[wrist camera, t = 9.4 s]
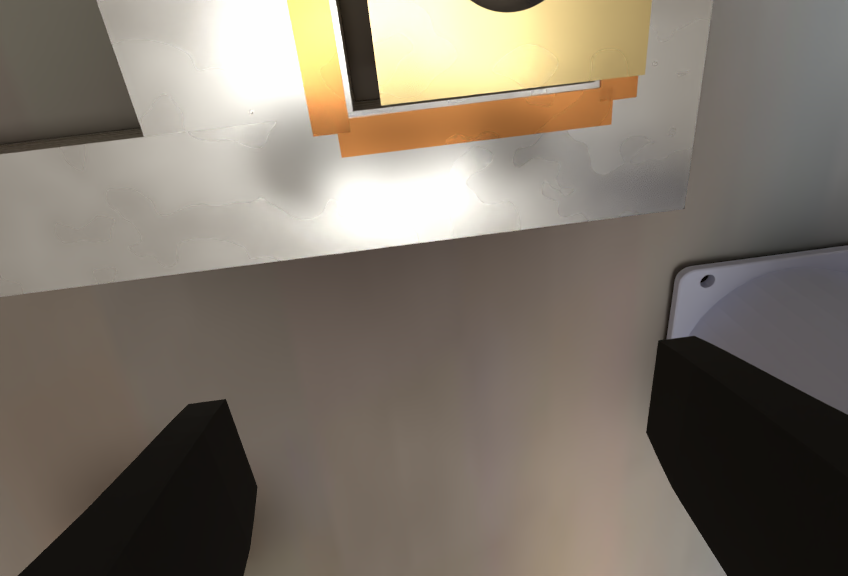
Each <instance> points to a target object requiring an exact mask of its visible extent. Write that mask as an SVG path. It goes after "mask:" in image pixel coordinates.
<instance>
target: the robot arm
mask: <svg viewBox="0 0 848 576" xmlns="http://www.w3.org/2000/svg"><path fill="white" fill-rule="evenodd" d="M706 275H709V276H708V278H707V279H706V280H705V281H704V282H701V283H700V281H701V279H702V278H703V277H704V276H706ZM646 433H647V435H648V437H649V439H650V442H651V444H652V446H653V448H654V450H655V453H656V455H657V457H658V459H659V462H660V464H661V466H662V468H663V470H664V472H665V474H666V476H667V478H668V480H669V482H670V484H671V486H672V488H673V490H674V491H675V493H676V495H677V496H678V498H679V500H680V501H681V503H682V505H683V506H684V508H685V509H686V511H687V513H688V514H689V516H690V517H691V519H692V521H693V522H694V524H695V525H696V527H697V529H698V530H699V532H700V533H701V535H702V537H703V538H704V540H705V541H706V543H707V544H708V546H709V548H710V549H711V551H712V552H713V554H714V555H715V557H716V559H717V560H718V562H719V563H720V565H721V566H722V568H723V570H724V571H725V573H726V574H727V576H848V245H847V246H839V247H832V248H824V249H816V250H809V251H801V252H794V253H786V254H779V255H771V256H763V257H756V258H748V259H741V260H733V261H725V262H718V263H710V264H703V265H695V266H689V267H686V268H684V269H682V270H681V271H680V272H679V273H678V274H677V276H676V278H675V282H674V289H673V296H672V303H671V311H670V318H669V325H668V332H667V339H666V340H659V341H658V348H657V355H656V363H655V370H654V378H653V386H652V393H651V401H650V408H649V416H648V423H647V431H646ZM256 495H257V485H256V482H255V479H254V476H253V473H252V471H251V468H250V465H249V462H248V459H247V457H246V454H245V451H244V448H243V446H242V443H241V440H240V437H239V434H238V432H237V429H236V426H235V423H234V421H233V418H232V415H231V412H230V409H229V407H228V404H227V401H226V399H223V400H216V401H209V402H201V403H194V404H188V405H187V406H186V407H185V408H184V409H183V410H182V411H181V412H180V413H179V414H178V415H177V416H176V417H175V418H174V419H173V420H172V421H171V422H170V423H169V424H168V425H167V426H166V427H165V428H164V429H163V430H162V431H161V432H160V434H159V435H158V436H157V437H156V438H155V439H154V440H153V441H152V442H151V443H150V444H149V445H148V446H147V447H146V448H145V449H144V450H143V451H142V453H141V454H140V455H139V456H138V457H137V458H136V459H135V460H134V461H133V462H132V463H131V464H130V465H129V466H128V467H127V468H126V469H125V470H124V471H123V472H122V473H121V474H120V475H119V477H118V478H117V479H116V480H115V481H114V482H113V483H112V484H111V485H110V486H109V487H108V488H107V489H106V490H105V491H104V492H103V493H102V494H101V495H100V496H99V497H98V498H97V499H96V500H95V501H94V502H93V503H92V504H91V505H90V506H89V508H88V509H87V510H86V511H85V512H84V513H83V514H82V515H80V516H79V517H78V518H77V519H76V520H75V521H74V522H73V523H72V524H71V525H70V526H69V527H68V528H67V529H66V530H65V531H64V532H63V533H62V534H61V535H60V536H59V537H58V538H57V539H56V540H55V541H53V542H52V543H51V544H50V545H49V546H48V547H47V548H46V549H45V550H44V551H43V552H42V553H41V554H40V555H39V556H38V557H37V558H36V559H35V560H34V561H33V562H32V563H31V564H30V565H29V566H28V567H26V568H25V569H24V570H23V571H22V572H21V573H20V574H19V575H18V576H243V575H244V571H245V567H246V563H247V559H248V554H249V550H250V544H251V537H252V529H253V522H254V513H255V504H256Z"/></svg>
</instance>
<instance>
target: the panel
mask: <svg viewBox="0 0 848 576" xmlns="http://www.w3.org/2000/svg"><path fill="white" fill-rule="evenodd" d="M97 3H98V6H99V9H100V12H101V15H102V18H103V21H104V23H105V26H106V29H107V32H108V35H109V38H110V41H111V43H112V46H113V49H114V52H115V55H116V58H117V61H118V64H119V66H120V69H121V72H122V75H123V78H124V81H125V84H126V87H127V89H128V92H129V95H130V98H131V101H132V104H133V107H134V109H135V112H136V115H137V118H138V121H139V124H140V127H141V128H135V129H127V130H119V131H111V132H102V133H94V134H86V135H77V136H69V137H61V138H53V139H44V140H36V141H28V142H19V143H11V144H3V145H0V297H3V296H11V295H19V294H27V293H34V292H42V291H50V290H58V289H65V288H73V287H81V286H89V285H97V284H104V283H112V282H120V281H128V280H135V279H143V278H151V277H159V276H167V275H174V274H182V273H190V272H198V271H205V270H213V269H221V268H229V267H237V266H244V265H252V264H260V263H268V262H275V261H283V260H291V259H299V258H307V257H314V256H322V255H330V254H338V253H345V252H353V251H361V250H369V249H377V248H384V247H392V246H400V245H408V244H415V243H423V242H431V241H439V240H447V239H454V238H462V237H470V236H478V235H485V234H493V233H501V232H509V231H517V230H524V229H532V228H540V227H548V226H555V225H563V224H571V223H579V222H587V221H594V220H602V219H610V218H618V217H625V216H633V215H641V214H649V213H657V212H664V211H672V210H680V209H684V207H685V200H686V193H687V185H688V178H689V171H690V164H691V157H692V150H693V143H694V136H695V128H696V121H697V114H698V107H699V100H700V93H701V86H702V78H703V71H704V64H705V57H706V50H707V43H708V36H709V28H710V21H711V14H712V7H713V0H652V5H651V16H650V26H649V37H648V47H647V58H646V69H645V75H638V76H630V77H621V78H613V79H604V80H596V81H587V82H579V83H570V84H561V85H553V86H544V87H536V88H527V89H519V90H510V91H501V92H493V93H484V94H476V95H467V96H459V97H450V98H441V99H433V100H424V101H416V102H407V103H399V104H390V105H381V100H380V99H376V100H367V101H359V102H355V101H354V94H353V88H352V82H351V75H350V69H349V63H348V56H347V50H346V43H345V37H344V31H343V24H342V18H341V11H340V5H339V0H97Z"/></svg>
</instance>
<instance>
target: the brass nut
mask: <svg viewBox="0 0 848 576" xmlns="http://www.w3.org/2000/svg"><path fill="white" fill-rule="evenodd" d="M367 1H368V8H369V16H370V24H371V31H372V39H373V47H374V54H375V62H376V70H377V77H378V85H379V93H380V100H381V105H390V104H399V103H407V102H416V101H424V100H433V99H441V98H450V97H459V96H467V95H476V94H484V93H493V92H501V91H510V90H519V89H527V88H536V87H544V86H553V85H561V84H570V83H579V82H587V81H596V80H604V79H613V78H621V77H630V76H638V75H645V69H646V58H647V47H648V37H649V26H650V16H651V5H652V0H367Z"/></svg>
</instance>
